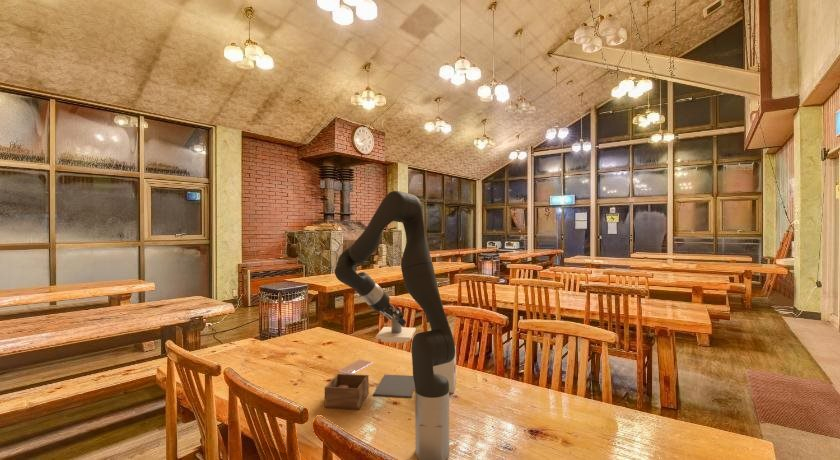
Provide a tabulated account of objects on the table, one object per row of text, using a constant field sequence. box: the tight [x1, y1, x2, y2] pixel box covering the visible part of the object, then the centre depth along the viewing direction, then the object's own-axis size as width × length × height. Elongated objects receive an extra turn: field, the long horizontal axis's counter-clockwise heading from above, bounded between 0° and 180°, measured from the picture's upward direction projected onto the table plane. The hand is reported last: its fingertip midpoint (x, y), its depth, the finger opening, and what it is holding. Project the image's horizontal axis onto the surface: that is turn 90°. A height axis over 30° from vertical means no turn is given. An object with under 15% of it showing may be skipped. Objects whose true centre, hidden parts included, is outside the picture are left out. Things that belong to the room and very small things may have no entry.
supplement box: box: [433, 345, 457, 394], centre depth 144 cm, size 9×9×15 cm
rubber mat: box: [372, 374, 415, 399], centre depth 146 cm, size 18×14×1 cm
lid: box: [375, 310, 417, 344], centre depth 145 cm, size 13×13×10 cm
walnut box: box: [324, 373, 370, 411], centre depth 134 cm, size 12×12×7 cm
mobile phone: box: [338, 359, 373, 374], centre depth 166 cm, size 8×1×15 cm
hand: (400, 323), depth 147 cm, fingers closed on lid, 4 cm apart
